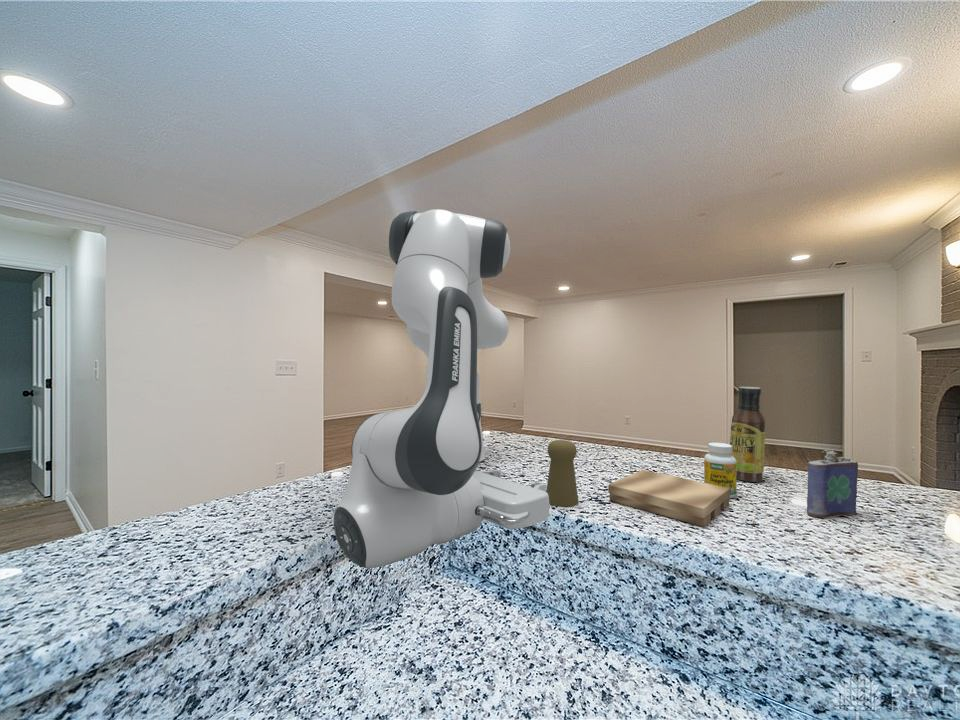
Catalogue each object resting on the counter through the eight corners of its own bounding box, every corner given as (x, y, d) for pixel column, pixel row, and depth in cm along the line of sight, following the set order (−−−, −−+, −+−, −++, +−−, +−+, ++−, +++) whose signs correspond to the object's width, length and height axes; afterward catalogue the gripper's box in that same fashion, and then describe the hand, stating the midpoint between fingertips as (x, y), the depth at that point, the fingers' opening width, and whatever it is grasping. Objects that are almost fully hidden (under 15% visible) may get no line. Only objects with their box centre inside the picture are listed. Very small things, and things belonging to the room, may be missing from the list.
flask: (817, 519, 67) (818, 453, 67) (799, 512, 70) (800, 449, 69) (861, 514, 69) (862, 451, 68) (842, 508, 71) (843, 447, 71)
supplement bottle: (732, 491, 80) (733, 442, 80) (739, 500, 75) (740, 448, 75) (701, 488, 82) (702, 440, 82) (706, 497, 77) (706, 446, 77)
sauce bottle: (722, 476, 90) (723, 386, 89) (740, 473, 92) (741, 385, 92) (752, 485, 84) (754, 388, 84) (771, 481, 87) (772, 387, 86)
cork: (582, 507, 72) (582, 444, 71) (547, 506, 72) (547, 444, 72) (574, 495, 78) (575, 437, 78) (542, 494, 78) (543, 437, 78)
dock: (608, 501, 75) (608, 484, 75) (642, 484, 84) (642, 469, 84) (703, 528, 63) (703, 508, 63) (729, 504, 73) (730, 488, 73)
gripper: (510, 499, 49) (574, 476, 59) (412, 465, 64) (476, 451, 73) (509, 551, 49) (573, 519, 59) (412, 505, 64) (476, 486, 73)
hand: (518, 481), depth 66 cm, fingers open, 8 cm apart
